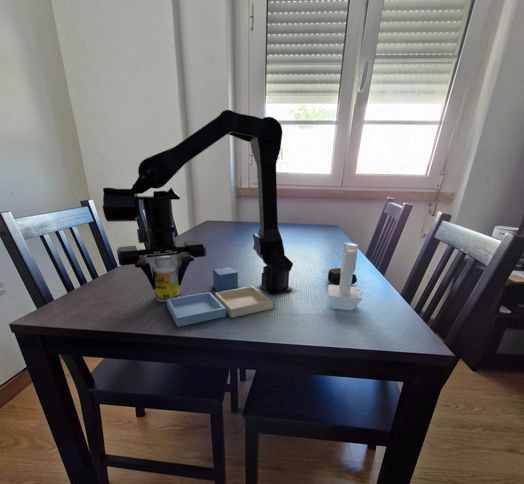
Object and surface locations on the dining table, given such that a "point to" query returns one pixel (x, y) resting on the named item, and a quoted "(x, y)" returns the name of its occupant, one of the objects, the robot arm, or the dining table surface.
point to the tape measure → (338, 276)
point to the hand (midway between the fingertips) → (166, 286)
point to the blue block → (225, 279)
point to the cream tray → (243, 301)
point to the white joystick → (346, 282)
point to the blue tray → (195, 308)
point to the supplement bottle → (165, 278)
